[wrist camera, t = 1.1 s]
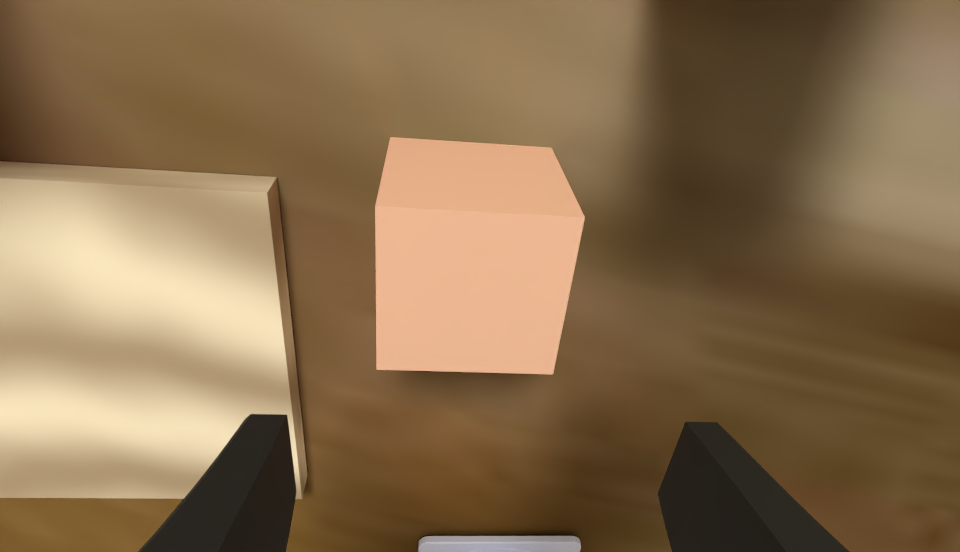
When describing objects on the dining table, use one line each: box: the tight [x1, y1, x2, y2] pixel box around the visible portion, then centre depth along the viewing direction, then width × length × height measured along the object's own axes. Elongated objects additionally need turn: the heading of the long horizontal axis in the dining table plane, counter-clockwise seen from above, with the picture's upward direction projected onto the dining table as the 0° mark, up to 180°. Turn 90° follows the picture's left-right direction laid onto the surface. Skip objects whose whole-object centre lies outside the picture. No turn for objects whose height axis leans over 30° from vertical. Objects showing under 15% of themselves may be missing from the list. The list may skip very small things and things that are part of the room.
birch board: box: [0, 161, 308, 499], centre depth 21 cm, size 14×12×1 cm
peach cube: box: [375, 137, 585, 374], centre depth 17 cm, size 5×5×5 cm
